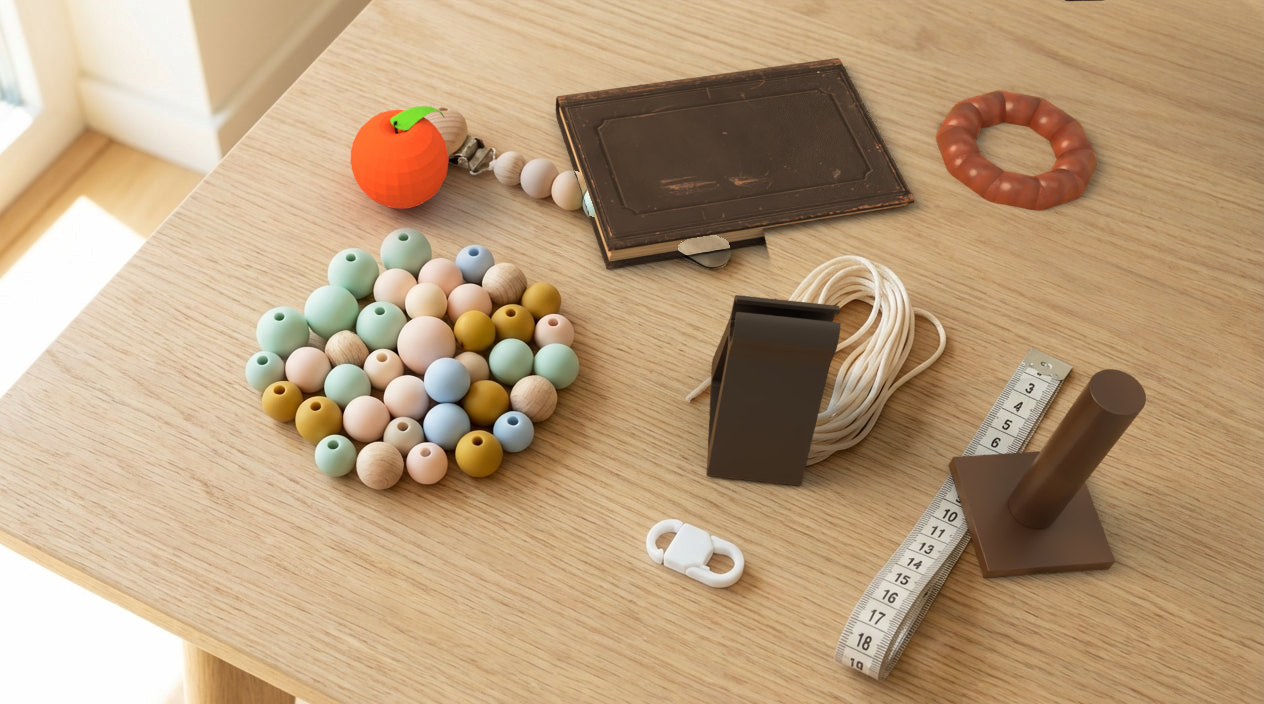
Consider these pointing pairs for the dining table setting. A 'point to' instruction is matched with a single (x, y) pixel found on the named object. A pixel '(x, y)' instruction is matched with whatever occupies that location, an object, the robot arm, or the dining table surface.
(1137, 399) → the peg
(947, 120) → the ring
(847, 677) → the dining table surface
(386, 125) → the clementine
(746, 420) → the phone stand
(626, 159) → the hardcover book
